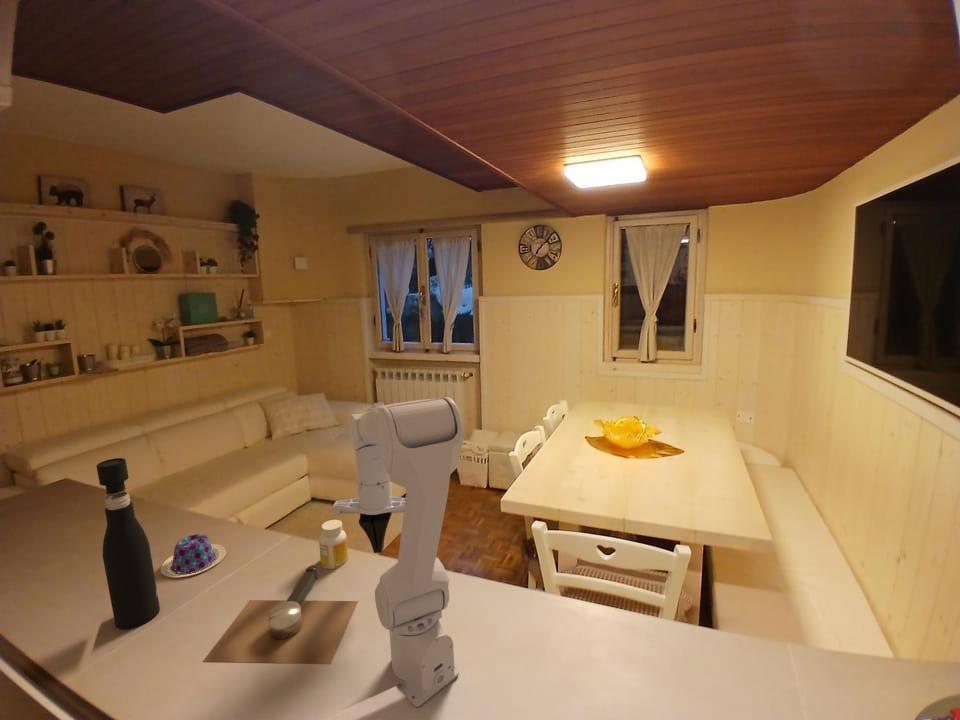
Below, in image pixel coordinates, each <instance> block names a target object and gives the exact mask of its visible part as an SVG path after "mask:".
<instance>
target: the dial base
mask: <svg viewBox="0 0 960 720" xmlns="http://www.w3.org/2000/svg"><path fill="white" fill-rule="evenodd" d="M286 601H287V599H285V600H283V599H282V600H280V599H278V600H277V599H276V600H275V599H271V600H270V599H268V600H265V599H263V600H262V599H253V600H252V599H249V600H248V601H247V603H246V604H245V606H244V607H243V608H242V609H241V611H240V612H239V614H238V615H237V616H236V617H235V618H234V620H233V621H232V623H231V624H230V625H229V627H228V628H227V629H226V631H225V632H224V633H223V634H222V635H221V637H220V638H219V640H217V642H216V643H215V644H214V646H213V648H211V649H210V651H209V653H207V655H206V656H205V658H204V659H203V660H202V663H238V664H239V663H240V664H242V663H246V664H248V663H250V664H301V665H302V664H303V665H309V664H311V665H312V664H313V665H331V664H332V662H333V660H334V658H335V655H336V653H337V651H338V648H339V646H340V644H341V642H342V639H343V637H344V635H345V633H346V630H347V627H348V626H349V623H350V620H351V619H352V616H353V614H354V612H355V609H356V607H357V605H358V603H359V600H303V602H302V604H301V605H300V607H301V616H302V627H301V628H300V630H299V631H298V632H297V633H295V634H294V635H292V636H290V637H287V638H283V639H277V638H274V637H272V636H271V634H270V629H269V620H268V614H269V612H270V610H271V609H272V608H273V607H275V606H276V605H278V604H280V603H283V602H286Z"/></svg>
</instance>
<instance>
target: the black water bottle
mask: <svg viewBox="0 0 960 720" xmlns="http://www.w3.org/2000/svg"><path fill="white" fill-rule="evenodd" d="M96 471H97V478H98V482H99V483H98V484H99V486H102V487H103V486H104V487H105V491H106V492H105V494H106V497H105V500H104V503H105V509H104V513H105V520H106V529H105V533H104V537H103V542H102V560H103V561H102V562H103V565H104V571H105V576H106V582H107V587H108V593H109V598H110V605H111V609H112V615H113V619H114V620H113V621H114V625H115V628H116V629H118V630H121V631H128V630H134V629H137V628H140V627H142V626H144V625H147V624H149V623H150V622H151V621H152V620H153V619H155V618H156V617H157V616H158V615H159V614H160V609H161V607H160V603H159V602H160V601H159V596H158V588H157V583H156V577H155V571H154V567H153V566H154V565H153V558H152V553H151V547H150V546H151V545H150V542H149V540H148V537H147V535H146V532H145V530H144V528H143V526H142V525H141V524H140V522H139V521H138V519H137V518H136V517H135V515H136V514H135V510H134V504H133V501H131V498H130V497H131V496H130V494H129V492H128V491H127V488H126V485H125V481H127V480H129V472H128V466H127V460H126V458H123V457H116V458H110V459H106V460H103V461H100V462H99V463H97V464H96Z"/></svg>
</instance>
